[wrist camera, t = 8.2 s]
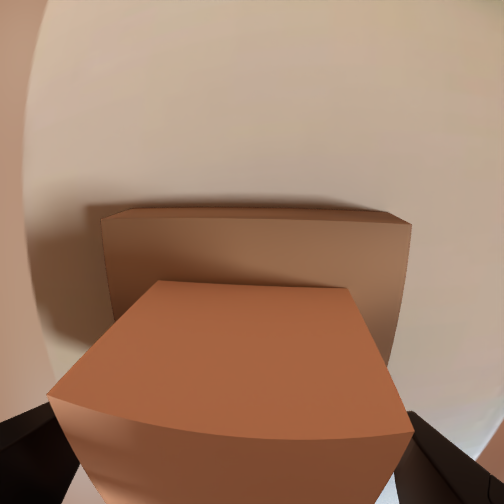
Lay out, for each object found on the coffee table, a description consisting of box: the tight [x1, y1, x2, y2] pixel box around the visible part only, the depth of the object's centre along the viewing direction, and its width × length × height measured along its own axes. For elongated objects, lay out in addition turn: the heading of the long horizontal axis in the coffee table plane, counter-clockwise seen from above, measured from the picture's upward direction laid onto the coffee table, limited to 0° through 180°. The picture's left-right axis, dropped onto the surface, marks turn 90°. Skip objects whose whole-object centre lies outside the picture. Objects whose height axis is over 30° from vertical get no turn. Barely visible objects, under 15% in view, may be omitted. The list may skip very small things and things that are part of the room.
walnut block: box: [101, 207, 412, 367], centre depth 12 cm, size 10×10×3 cm
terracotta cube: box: [47, 280, 415, 504], centre depth 8 cm, size 6×6×6 cm
